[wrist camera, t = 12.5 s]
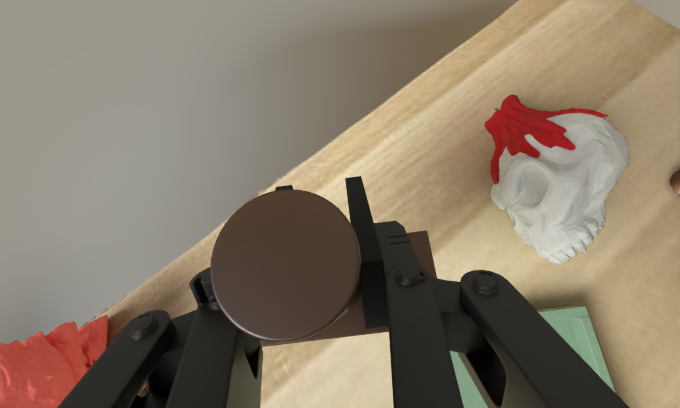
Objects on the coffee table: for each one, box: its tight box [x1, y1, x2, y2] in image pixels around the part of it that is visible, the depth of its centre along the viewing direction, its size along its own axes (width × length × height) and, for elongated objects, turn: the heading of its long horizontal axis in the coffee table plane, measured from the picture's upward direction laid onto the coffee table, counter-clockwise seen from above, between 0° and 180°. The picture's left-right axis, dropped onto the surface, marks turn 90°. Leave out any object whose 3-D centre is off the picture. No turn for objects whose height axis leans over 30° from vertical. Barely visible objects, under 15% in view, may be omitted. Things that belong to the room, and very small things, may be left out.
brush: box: [210, 189, 437, 347], centre depth 12 cm, size 4×10×14 cm, turn 97°
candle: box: [485, 94, 629, 265], centre depth 28 cm, size 9×11×15 cm
